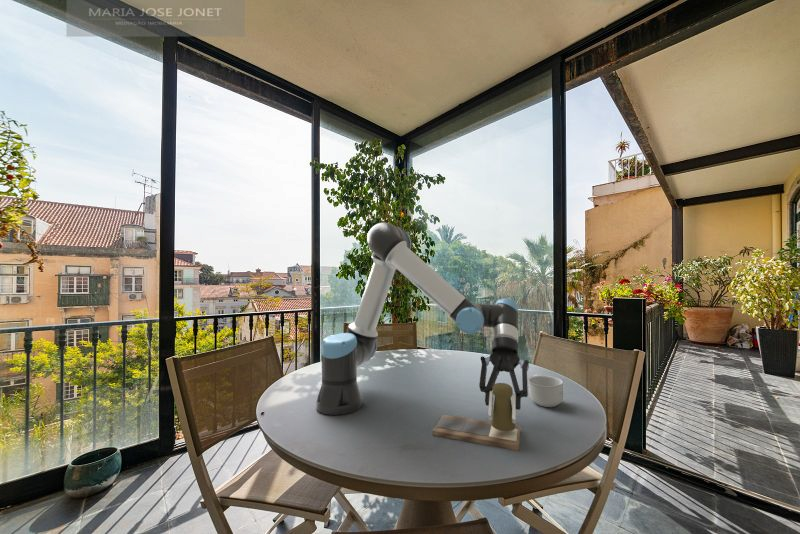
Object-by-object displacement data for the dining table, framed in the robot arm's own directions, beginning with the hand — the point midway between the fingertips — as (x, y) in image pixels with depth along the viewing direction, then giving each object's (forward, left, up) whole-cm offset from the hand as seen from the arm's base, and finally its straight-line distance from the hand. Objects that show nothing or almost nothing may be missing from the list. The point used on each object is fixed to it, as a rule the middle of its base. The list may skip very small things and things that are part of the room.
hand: (501, 419), depth 82 cm
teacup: (+11, +34, -7) cm, 36 cm away
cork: (0, +4, -3) cm, 5 cm away
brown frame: (-7, +4, -6) cm, 10 cm away
